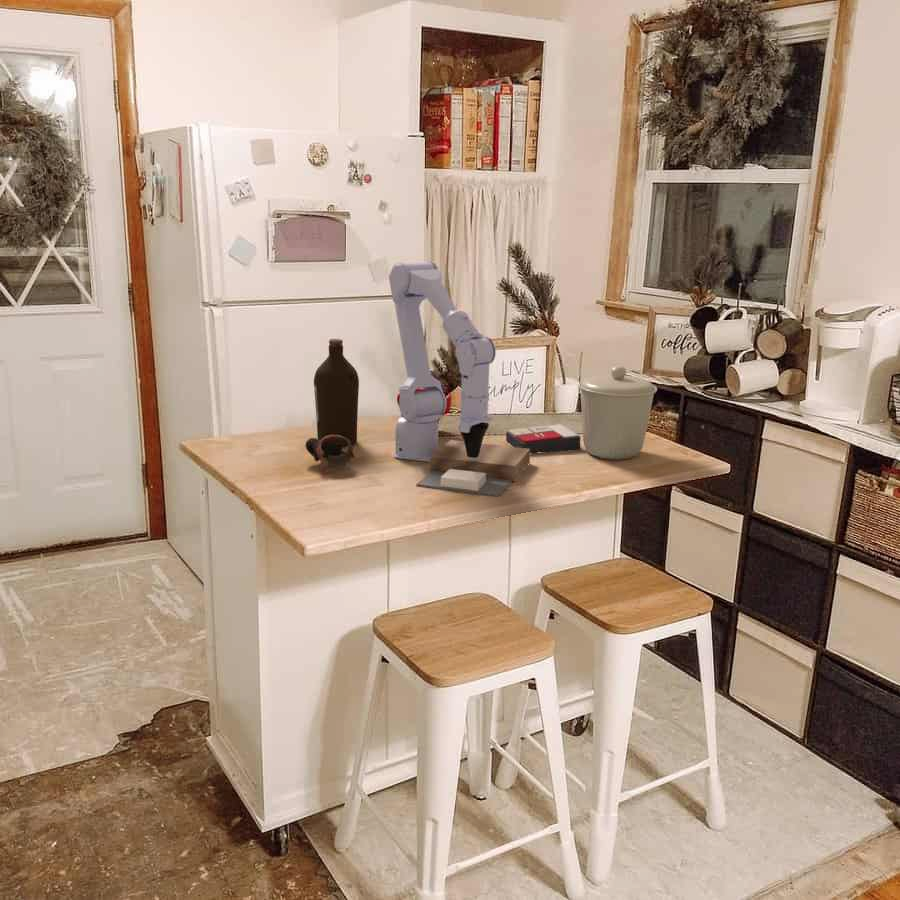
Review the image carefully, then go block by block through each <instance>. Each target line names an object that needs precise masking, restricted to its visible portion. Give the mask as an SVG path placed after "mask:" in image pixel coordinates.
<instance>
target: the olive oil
mask: <svg viewBox="0 0 900 900" xmlns="http://www.w3.org/2000/svg"><path fill="white" fill-rule="evenodd" d="M328 343H329V345H328V356H327V357H326V359H325V360H324V361H323V362H322V363H321V364H320V365H319V366H318V368H316V371H315V373H314V377H313V389H314V402H315V403H314V404H315V417H316V433H317V439H318V440H321V439H322V438H324V437H325V436H328V435H340V436H343V437H345V438H347V439H348V440H349V441H350V442H351V445H352V446H355V445H356V444H357V442H358V417H359V416H358V414H359V413H358V411H359V392H360V390H359V388H360V378H359V375H358V372H357V370H356V368H355V367H354V366H353V365H352V364H351V363H350V361H348V359H346V357H345V356H344V345H343V343H344V342H343V339H340V338H330V339H329V340H328ZM323 445H325V443H323ZM342 448H348V445H347V444H345V445H343V447H342Z"/></svg>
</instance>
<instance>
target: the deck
mask: <svg viewBox="0 0 900 900" xmlns="http://www.w3.org/2000/svg"><path fill="white" fill-rule="evenodd" d="M530 460H531V454H530V449H527V448H518V447H512V446H510V445H509V446H508V445H499V444H488V443H482V444H481V448H480V452H479V456H478V457H477V458H471V457H468V456H467V452H466V447H465V443H464V440H463V441H462V440H454V439H450V440H449V441H447V442H446V443H445V444H444V445H442V446H441V447H440V448H438V451H437V452H435V453H434V454H433V455H432V456H430V462H429V463H430V464H429V465H430V466H429V467H430V468H429V469H430V472H431V471H439V472H447V471H448V470H449V469H456V470H464V471H472V472H480V473H486V477H488V478H496V479H504V480H512V481H515V480H516V481H517V480H518V478H519V477H520V476H521V475H522V474H523V472H524V471H525V470H526V469H527V467H529V465H530V464H529V463H531V461H530ZM528 464H529V465H528ZM525 468H526V469H525ZM524 469H525V470H524ZM430 472H429V473H430ZM520 474H521V475H520ZM519 475H520V476H519ZM516 481H515V482H516Z"/></svg>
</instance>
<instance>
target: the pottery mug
mask: <svg viewBox="0 0 900 900" xmlns="http://www.w3.org/2000/svg"><path fill="white" fill-rule="evenodd" d="M305 442H306V443H305V445H304V446H305V449H306V450H307V452H308V453H309V455H311V456H312V457H313V458H314V459H313V460H314V462H316V463H317V462H318V461H321V462H320V466H319V470H320V471H321V472H322V473H324V472H325V473H324V474H326V473H327V472H328V471H329V470H334V469H338V468H342V467H344V466H346V464H349V463H350V462H351V461H352V460H353V459H355V458H356V456H355V453H354V449H355V447H354V445H351V442H350V441H349V440H348V439H347V438H345V437H343V436H340V435H328V436H325V437H324V438H322V439H321V440H318V438H316V437H311V438H308V439H307V441H305ZM323 443H325V445H323ZM345 444H347V445H348V447H347V449H346V451H345V450H342V449H343V448H344V447H343V445H345Z"/></svg>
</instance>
